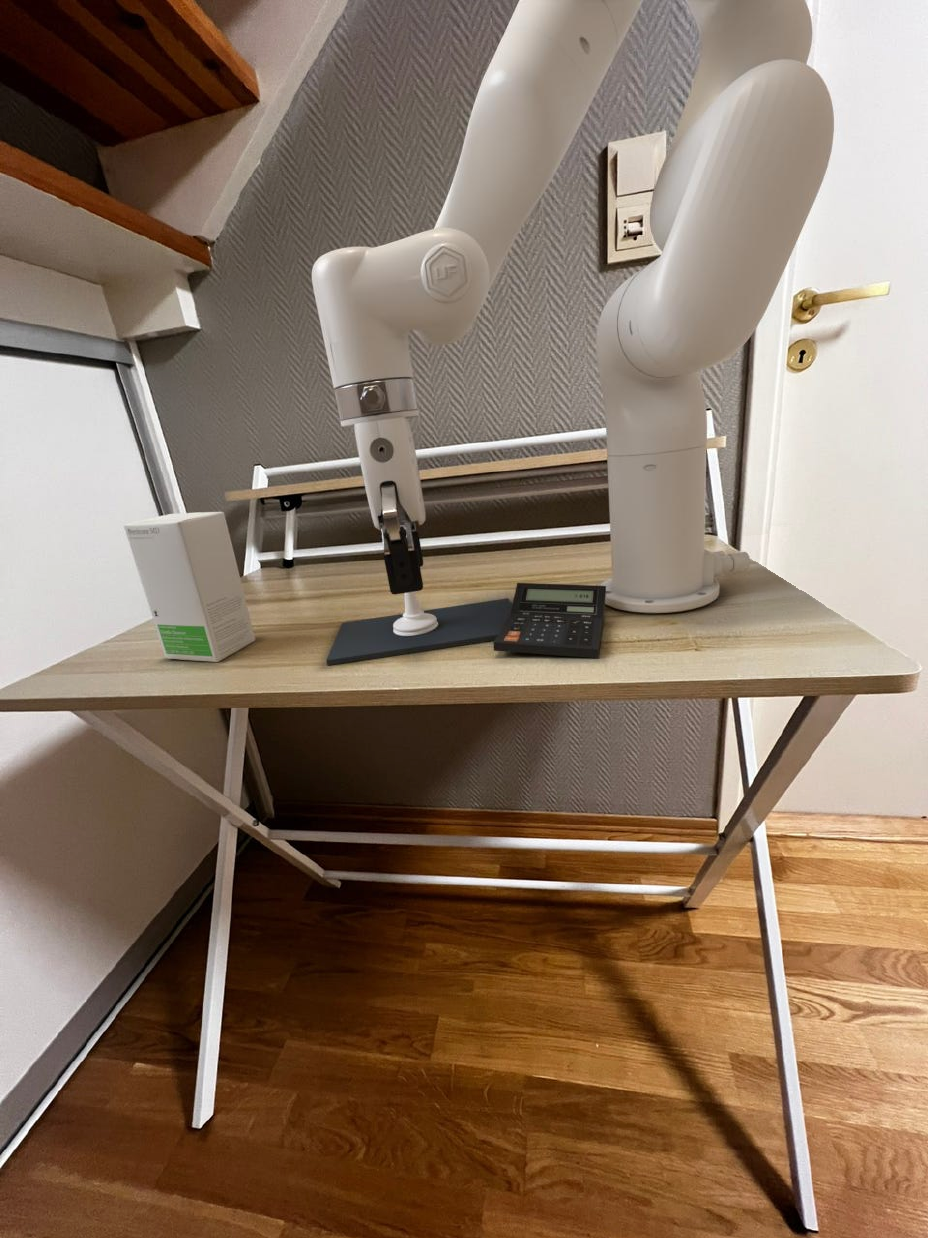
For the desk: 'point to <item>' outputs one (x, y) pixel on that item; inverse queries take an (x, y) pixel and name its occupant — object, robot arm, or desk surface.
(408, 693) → the desk surface
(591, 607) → the calculator
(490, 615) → the desk mat
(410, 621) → the chess piece
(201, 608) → the cosmetic box
